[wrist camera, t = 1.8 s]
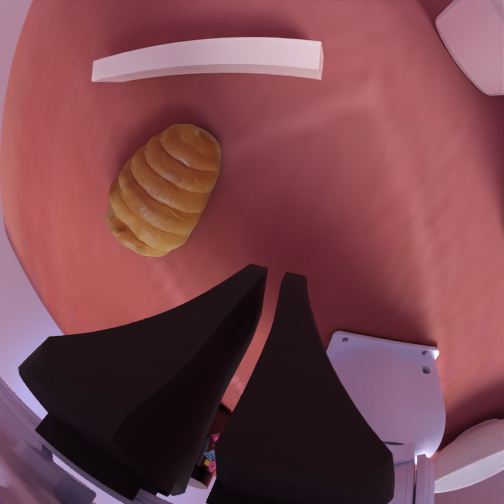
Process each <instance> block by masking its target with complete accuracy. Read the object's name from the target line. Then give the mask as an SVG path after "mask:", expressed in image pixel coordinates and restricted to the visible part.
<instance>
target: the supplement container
mask: <svg viewBox="0 0 504 504" xmlns="http://www.w3.org/2000/svg"><path fill="white" fill-rule="evenodd" d="M231 414H232V413H231V412H230V411H229V410H227V409H226V408H225V407H223V406H221V405H220V404H219V407H218V409H217V412H216V414H215V417H214V419H213V421H212V424H211V426H210V429H209V431H208V434H207V436H206V439H205V441H204V444H203V446H202V449H201V451H200V454H199V456H198V459H197V462H196V464H195V467H194V469H193V472H192V475H191V477H190V480H189V482H188V485H190V486H193V487H196V488H200V489H208V486H209V484H210V482H211V480H212V478H213V475H214V472H215V470H216V463H215V449H214V444H215V442H216V441H217V439H218V437H219V436H220V434H221V432H222V430H223V429H224V427H225V425H226V423H227V421H228V420H229V418H230V416H231Z"/></svg>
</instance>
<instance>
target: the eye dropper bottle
mask: <svg viewBox="0 0 504 504" xmlns="http://www.w3.org/2000/svg"><path fill="white" fill-rule="evenodd" d="M435 23H436V28H437V30H438V33H439V35H440V37H441V39H442V41H443V43H444V45H445V46H446V48H447V50H448V51H449V53H450V55H451V56H452V58H453V59H454V61H455V62H456V64H457V65H458V66H459V68H460V69H461V70H462V71H463V72H464V74H465V75H466V76H467V77H468V78H469V79H470V80H471V82H472V83H473V84H474V85H475V86H476V87H477V88H478V89H479V90H481V91H482V92H483V93H485V94H487V95H489V96H496V95H504V0H454V1H453V2H452V3H451V4H450V5H449V6H448V7H447V8H446V9H445V10H444V11H443V12H442V13H441V14H440V15H438V17H437V18H436V20H435Z"/></svg>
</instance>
